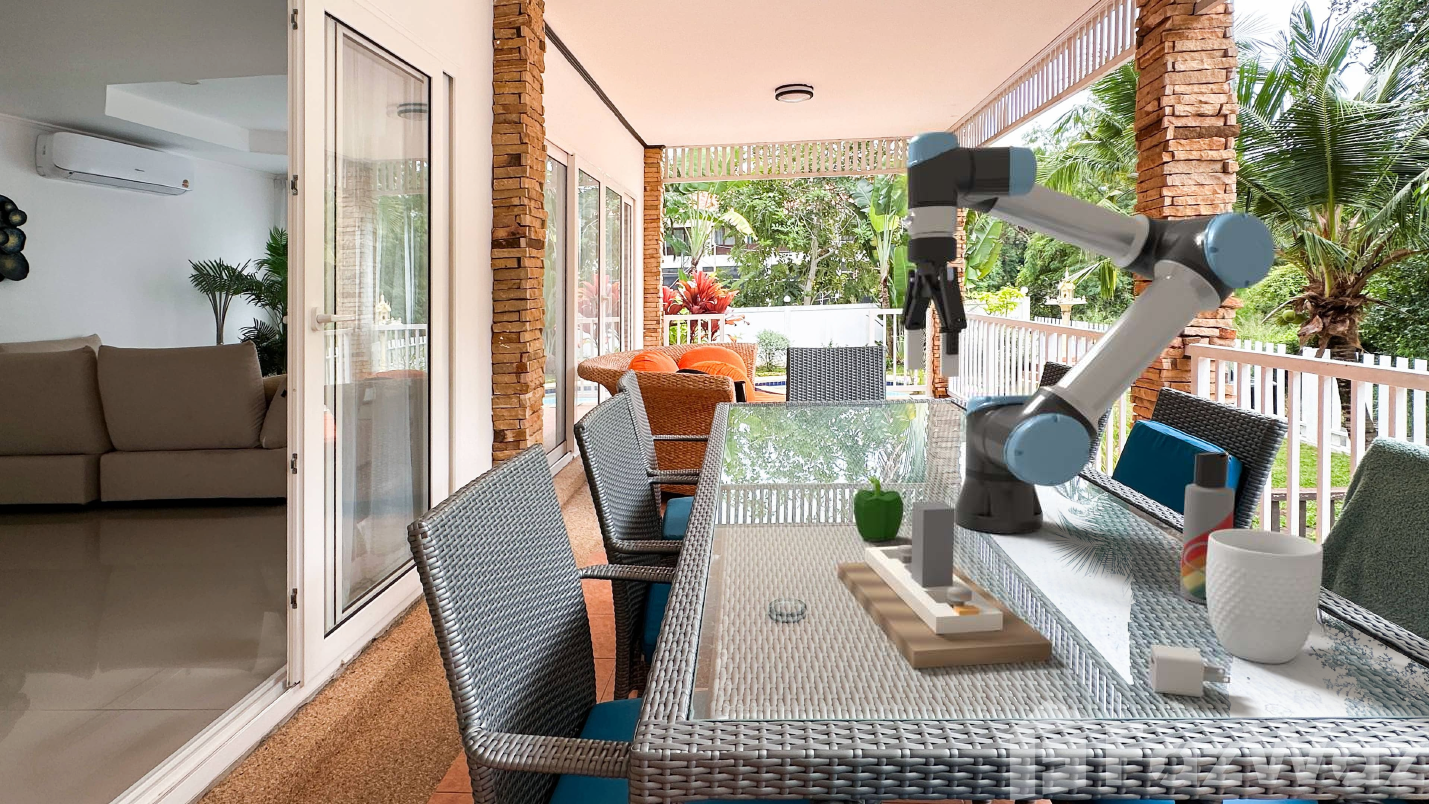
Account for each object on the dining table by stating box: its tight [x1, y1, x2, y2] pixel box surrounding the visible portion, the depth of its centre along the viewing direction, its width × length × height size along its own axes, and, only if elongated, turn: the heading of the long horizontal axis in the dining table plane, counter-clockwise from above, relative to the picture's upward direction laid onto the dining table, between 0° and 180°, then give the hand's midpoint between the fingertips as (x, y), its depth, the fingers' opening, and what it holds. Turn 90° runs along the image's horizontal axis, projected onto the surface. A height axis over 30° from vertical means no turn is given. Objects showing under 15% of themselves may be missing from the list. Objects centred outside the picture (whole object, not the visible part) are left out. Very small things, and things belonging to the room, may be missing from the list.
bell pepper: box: [853, 477, 904, 542], centre depth 147 cm, size 8×8×10 cm
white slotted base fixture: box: [864, 500, 1003, 634], centre depth 114 cm, size 28×8×12 cm, turn 7°
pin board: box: [837, 544, 1053, 669], centre depth 112 cm, size 32×16×6 cm, turn 7°
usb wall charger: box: [1148, 644, 1231, 698], centre depth 90 cm, size 4×7×4 cm, turn 72°
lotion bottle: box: [1179, 451, 1236, 605], centre depth 116 cm, size 6×6×20 cm
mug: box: [1206, 528, 1324, 665], centre depth 99 cm, size 15×11×13 cm
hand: (931, 373), depth 138 cm, fingers open, 13 cm apart
